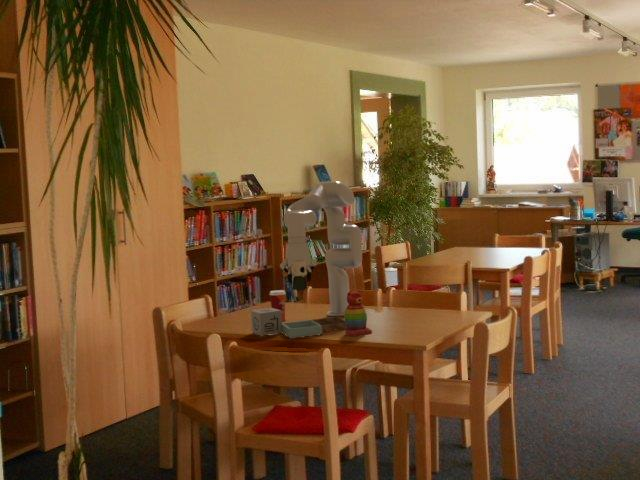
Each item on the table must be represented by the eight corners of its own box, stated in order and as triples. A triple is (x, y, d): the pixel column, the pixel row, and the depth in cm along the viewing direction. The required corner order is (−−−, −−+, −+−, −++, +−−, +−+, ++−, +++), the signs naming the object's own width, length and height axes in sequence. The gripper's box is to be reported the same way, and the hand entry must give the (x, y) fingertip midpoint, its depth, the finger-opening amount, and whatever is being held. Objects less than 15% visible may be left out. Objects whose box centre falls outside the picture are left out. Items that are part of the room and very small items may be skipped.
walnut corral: (337, 322, 396) (337, 316, 396) (349, 328, 380) (349, 322, 380) (310, 325, 393) (309, 319, 393) (320, 331, 377) (320, 325, 376)
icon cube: (282, 333, 378) (281, 310, 377) (261, 336, 373) (259, 313, 372) (273, 330, 386) (271, 307, 386) (252, 333, 382) (250, 310, 381)
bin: (312, 328, 384) (311, 319, 384) (322, 335, 369) (321, 325, 369) (281, 332, 380) (280, 323, 380) (290, 338, 365) (289, 329, 365)
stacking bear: (350, 336, 362) (348, 294, 361) (340, 332, 372) (337, 291, 370) (373, 333, 367) (371, 291, 365) (363, 329, 376) (360, 288, 374)
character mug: (300, 292, 367) (298, 262, 366) (286, 292, 370) (284, 262, 369) (313, 289, 377) (311, 259, 376) (299, 288, 380) (297, 259, 379)
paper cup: (285, 322, 404) (283, 292, 403) (269, 322, 406) (267, 292, 405) (289, 319, 412) (287, 289, 411) (273, 319, 414) (271, 290, 412)
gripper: (314, 238, 378) (316, 279, 379) (275, 241, 373) (277, 283, 374) (319, 239, 371) (321, 281, 372) (279, 243, 366) (281, 285, 367)
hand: (299, 282), depth 373 cm, fingers closed on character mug, 7 cm apart
